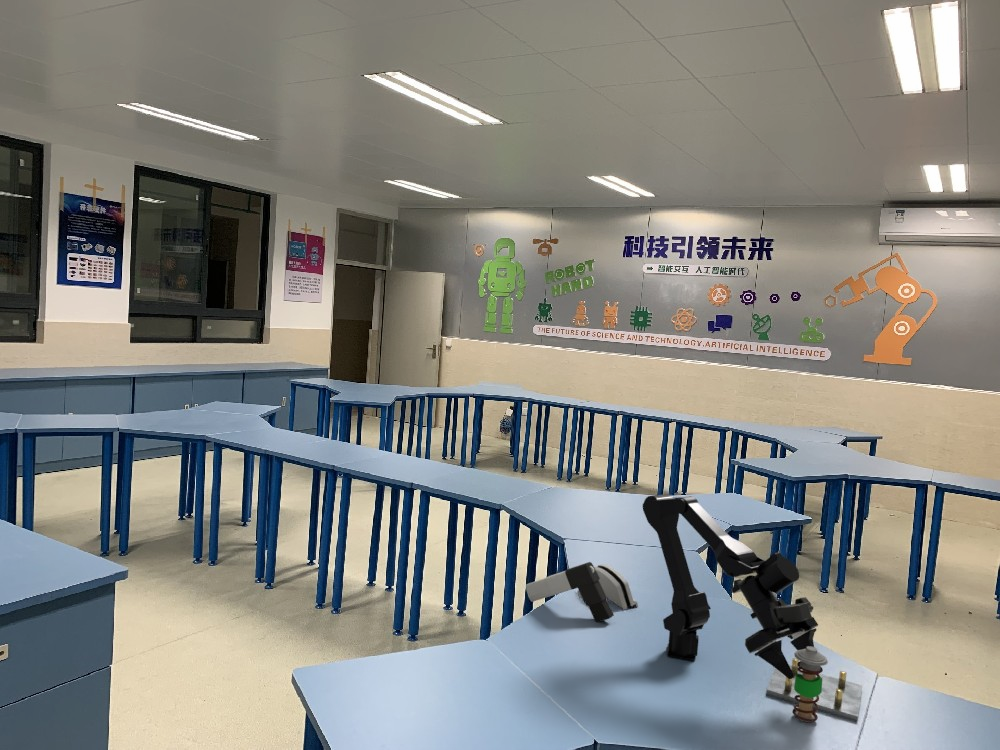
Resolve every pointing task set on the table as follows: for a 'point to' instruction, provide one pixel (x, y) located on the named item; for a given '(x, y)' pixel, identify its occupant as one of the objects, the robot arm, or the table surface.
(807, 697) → the shock absorber
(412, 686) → the table surface
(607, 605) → the handheld device
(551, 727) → the table surface
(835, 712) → the plate
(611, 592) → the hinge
